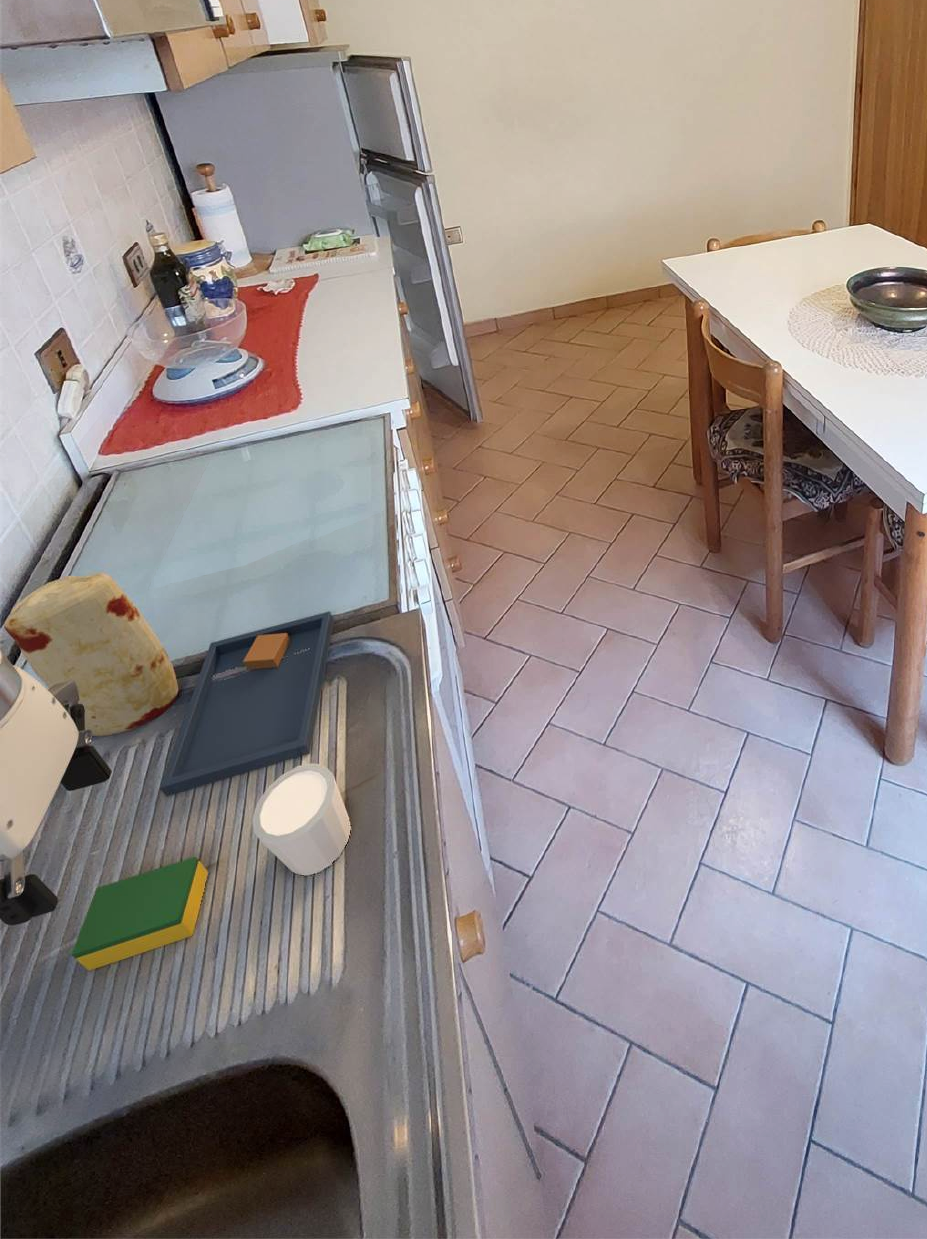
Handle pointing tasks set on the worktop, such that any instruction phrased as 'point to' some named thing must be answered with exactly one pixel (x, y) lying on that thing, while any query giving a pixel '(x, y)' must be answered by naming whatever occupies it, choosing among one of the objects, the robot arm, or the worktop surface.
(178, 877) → the sponge
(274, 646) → the orange flat block
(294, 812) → the white cylinder
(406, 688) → the worktop surface
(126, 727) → the food model
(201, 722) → the tray
